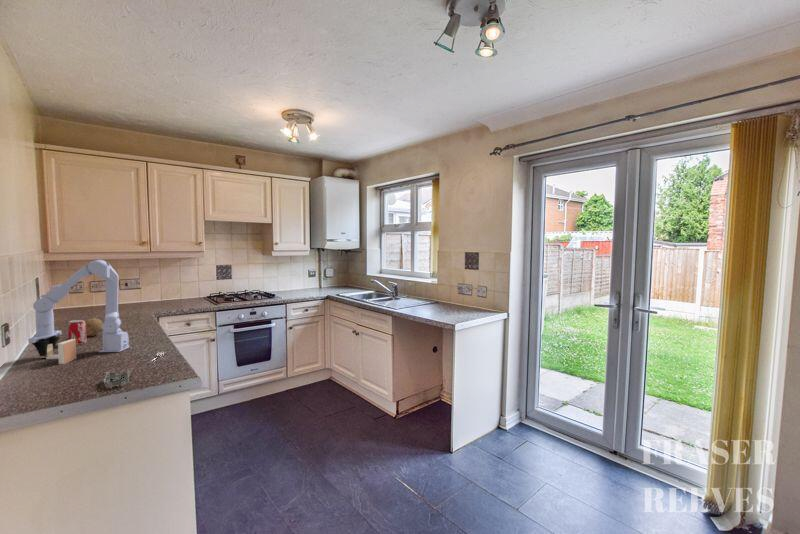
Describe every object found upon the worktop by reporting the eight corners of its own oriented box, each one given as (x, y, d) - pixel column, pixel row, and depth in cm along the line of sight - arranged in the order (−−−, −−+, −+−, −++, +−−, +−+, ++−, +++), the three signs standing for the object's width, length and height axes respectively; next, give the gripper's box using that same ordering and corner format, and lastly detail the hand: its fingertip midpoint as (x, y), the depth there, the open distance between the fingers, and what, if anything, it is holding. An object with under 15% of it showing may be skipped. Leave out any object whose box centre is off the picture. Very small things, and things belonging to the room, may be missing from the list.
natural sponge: (105, 333, 202) (105, 315, 201) (103, 336, 194) (103, 318, 194) (84, 335, 197) (84, 317, 196) (82, 338, 189) (81, 320, 189)
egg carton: (106, 380, 134) (106, 370, 134) (131, 377, 138) (131, 366, 138) (102, 390, 125) (101, 379, 125) (128, 386, 130) (128, 375, 129)
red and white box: (75, 346, 176) (74, 322, 175) (64, 345, 177) (63, 321, 177) (90, 342, 183) (89, 319, 182) (79, 341, 184) (78, 318, 183)
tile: (76, 358, 158) (75, 338, 157) (63, 364, 151) (62, 343, 150) (71, 358, 158) (71, 339, 157) (58, 364, 151) (57, 343, 150)
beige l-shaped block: (72, 355, 162) (71, 342, 162) (63, 358, 157) (62, 345, 157) (47, 355, 161) (47, 342, 161) (37, 359, 156) (37, 346, 156)
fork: (137, 372, 145) (137, 367, 145) (157, 356, 164) (157, 352, 164) (147, 371, 146) (146, 367, 146) (165, 355, 165) (165, 351, 165)
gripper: (49, 321, 164) (50, 349, 165) (19, 328, 150) (21, 359, 151) (65, 321, 165) (67, 349, 166) (38, 328, 151) (39, 359, 152)
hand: (46, 354), depth 159 cm, fingers closed on beige l-shaped block, 3 cm apart
